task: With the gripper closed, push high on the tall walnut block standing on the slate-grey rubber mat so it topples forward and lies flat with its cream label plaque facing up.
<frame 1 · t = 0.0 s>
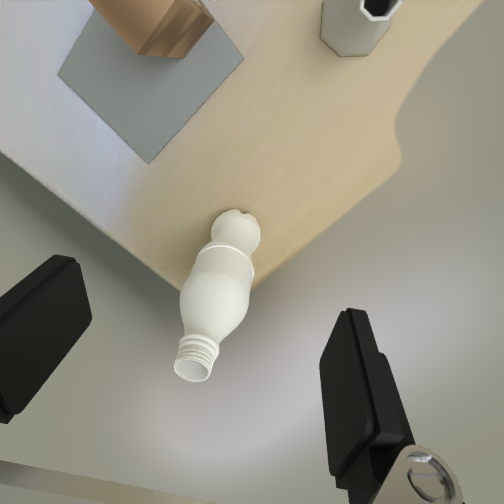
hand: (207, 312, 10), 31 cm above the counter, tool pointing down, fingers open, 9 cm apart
flask: (355, 15, 29), on the counter
mat: (148, 66, 34), on the counter
walnut block: (181, 18, 30), point 1 cm above the counter, touching mat
water bottle: (238, 225, 44), on the counter
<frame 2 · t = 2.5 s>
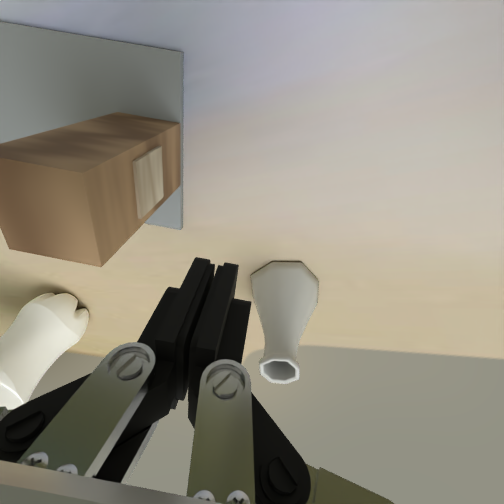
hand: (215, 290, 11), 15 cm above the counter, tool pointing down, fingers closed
flask: (284, 286, 30), on the counter
mat: (78, 135, 24), on the counter
walnut block: (150, 150, 23), point 1 cm above the counter, touching mat
water bottle: (69, 305, 37), on the counter
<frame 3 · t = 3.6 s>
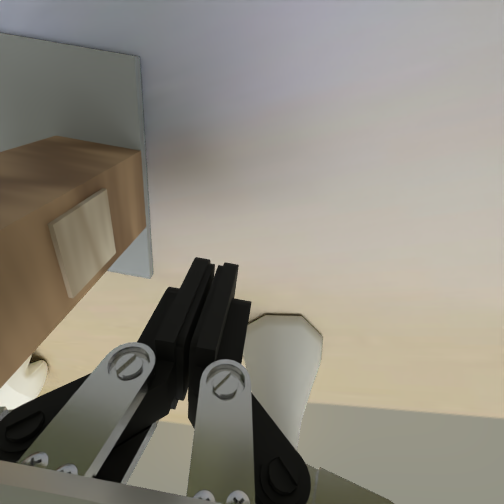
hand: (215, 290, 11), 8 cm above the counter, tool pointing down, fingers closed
flask: (281, 340, 25), on the counter
mat: (11, 163, 18), on the counter
walnut block: (104, 184, 18), point 1 cm above the counter, touching mat
water bottle: (24, 356, 31), on the counter
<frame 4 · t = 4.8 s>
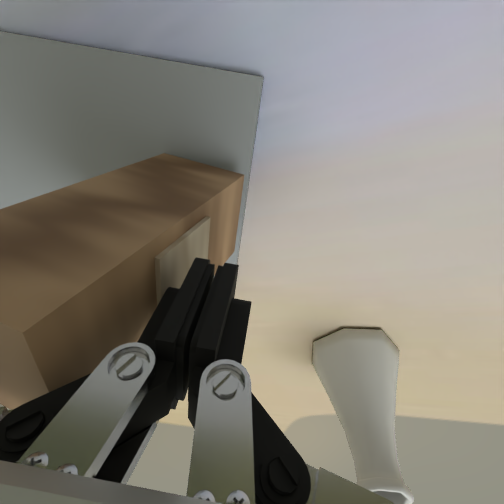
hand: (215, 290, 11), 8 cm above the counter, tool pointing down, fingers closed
flask: (352, 352, 25), on the counter
mat: (107, 179, 18), on the counter
walnut block: (201, 204, 17), point 1 cm above the counter, tilted 14°, touching mat
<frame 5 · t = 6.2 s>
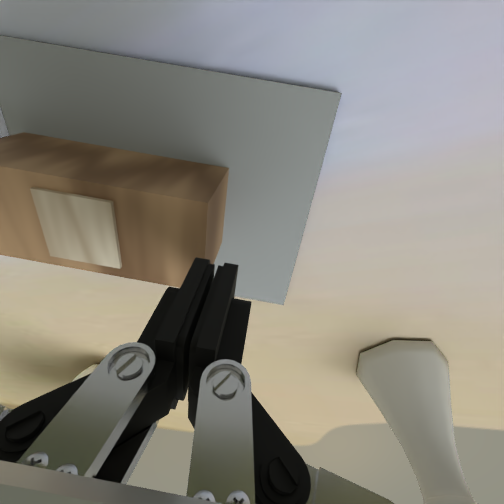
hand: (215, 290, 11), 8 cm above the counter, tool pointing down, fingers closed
flask: (398, 363, 25), on the counter
mat: (165, 193, 18), on the counter
walnut block: (216, 227, 16), point 3 cm above the counter, tilted 90°, touching mat
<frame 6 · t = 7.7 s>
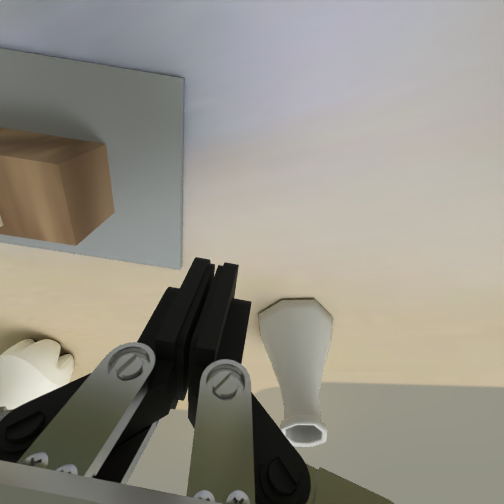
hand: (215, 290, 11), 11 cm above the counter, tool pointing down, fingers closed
flask: (295, 323, 28), on the counter
mat: (60, 169, 21), on the counter
walnut block: (91, 192, 18), point 3 cm above the counter, tilted 90°, touching mat
water bottle: (50, 351, 33), on the counter
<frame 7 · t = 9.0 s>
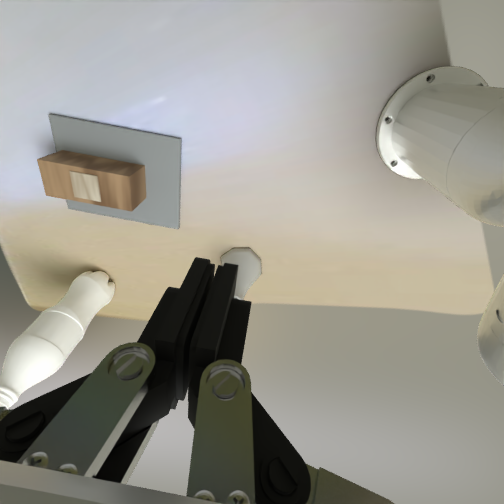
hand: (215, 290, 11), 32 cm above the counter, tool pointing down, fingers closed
flask: (241, 263, 50), on the counter
mat: (121, 175, 43), on the counter
walnut block: (138, 188, 41), point 3 cm above the counter, tilted 90°, touching mat
water bottle: (101, 280, 55), on the counter
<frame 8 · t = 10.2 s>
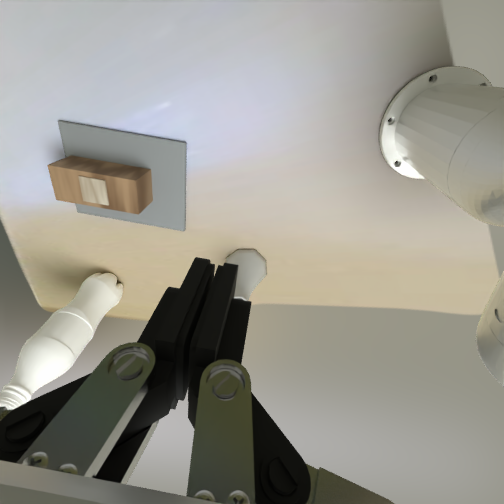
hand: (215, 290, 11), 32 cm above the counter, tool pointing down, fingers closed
flask: (246, 264, 51), on the counter
mat: (128, 179, 44), on the counter
walnut block: (145, 191, 41), point 3 cm above the counter, tilted 90°, touching mat
water bottle: (109, 282, 56), on the counter
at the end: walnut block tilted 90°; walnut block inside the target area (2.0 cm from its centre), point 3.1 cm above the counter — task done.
